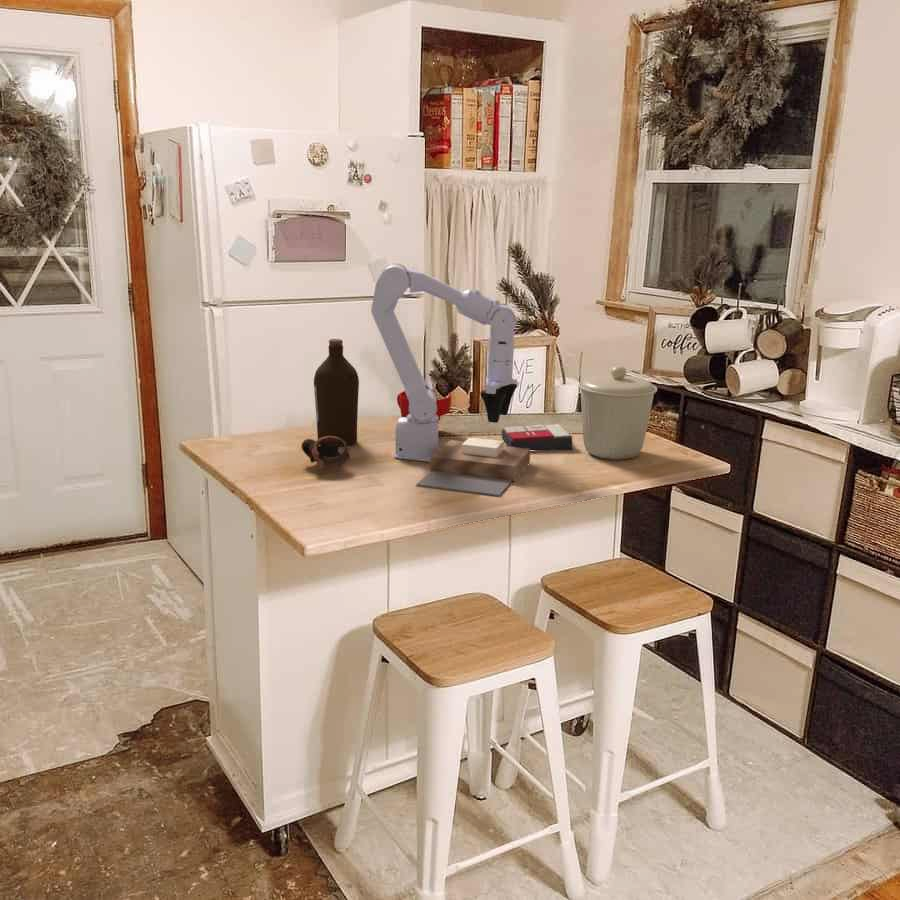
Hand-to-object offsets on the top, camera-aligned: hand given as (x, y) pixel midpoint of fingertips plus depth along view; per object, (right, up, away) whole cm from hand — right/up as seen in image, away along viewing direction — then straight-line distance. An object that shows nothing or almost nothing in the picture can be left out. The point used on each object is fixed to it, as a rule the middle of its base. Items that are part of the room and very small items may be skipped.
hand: (497, 418), depth 205 cm
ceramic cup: (-19, -3, +23) cm, 30 cm away
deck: (-4, -11, -5) cm, 13 cm away
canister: (+28, -8, +7) cm, 30 cm away
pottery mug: (-38, -11, -7) cm, 41 cm away
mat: (-8, -14, -16) cm, 23 cm away
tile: (-4, -8, -5) cm, 10 cm away
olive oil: (-38, -6, +12) cm, 40 cm away
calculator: (+10, -6, +14) cm, 18 cm away
